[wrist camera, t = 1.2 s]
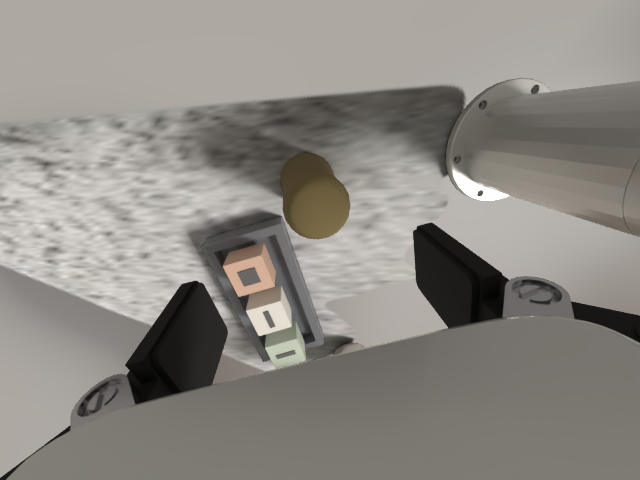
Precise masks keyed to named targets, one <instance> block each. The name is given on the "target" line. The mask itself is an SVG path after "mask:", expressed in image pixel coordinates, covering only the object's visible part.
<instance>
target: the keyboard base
mask: <svg viewBox="0 0 640 480" xmlns="http://www.w3.org/2000/svg"><path fill="white" fill-rule="evenodd" d="M263 242H264V244H265V246H266V249H267V251H268V254H269V256H270V259H271V261H272V263H273V266H274V268H275V271H276V276H275V287H276V286H280V285H282V288H283V290H284V293H285V295H286V298H287V300H288V303H289V305H290V308H291V317H292V322H294V321H296V322H297V325H298V327H299V330H300V332H301V334H302V337H303V339H304V342H305V350H306V349H309V348H313V347H316V346H320V345H323V344H324V338H323V332H322V329H321V326H320V323H319V320H318V317H317V315H316V312H315V309H314V306H313V303H312V300H311V298H310V295H309V292H308V289H307V286H306V283H305V280H304V278H303V275H302V272H301V269H300V266H299V263H298V261H297V258H296V255H295V252H294V249H293V246H292V244H291V241H290V238H289V235H288V232H287V229H286V227H285V224H284V221H283V218H282V216H280V217H277V218H273V219H270V220H266V221H263V222H259V223H256V224H253V225H249V226H246V227H242V228H239V229H235V230H232V231H228V232H225V233H222V234H218V235H215V236H211V237H208V238H207V239H206V241H205V242H204V243H203V245H202V246H201V248H202V250H203V252H204V254H205V255H206V257H207V259H208V261H209V263H210V265H211V267H212V268H213V270H214V272H215V274H216V276H217V278H218V279H219V281H220V283H221V285H222V287H223V289H224V290H225V292H226V294H227V296H228V298H229V300H230V302H231V303H232V305H233V307H234V309H235V311H236V313H237V314H238V316H239V318H240V320H241V322H242V324H243V326H244V327H245V329H246V331H247V333H248V335H249V337H250V338H251V340H252V342H253V344H254V346H255V348H256V349H257V351H258V353H259V355H260V357H261V359H262V361H263V362H264V361H268V360H271V359H270V357H269V355H268V353H267V351H266V349H265V341H266V334H265V335H262V336H258V334H257V332H256V330H255V328H254V326H253V324H252V322H251V320H250V318H249V316H248V314H247V313H246V308H247V303H248V299H249V294H248V295H244V296H241V297H238V295H237V293H236V291H235V289H234V287H233V286H232V284H231V282H230V280H229V278H228V276H227V274H226V272H225V270H224V268H223V264H224V262H225V260H226V258H227V256H228V253H229V252H232V251H235V250H239V249H242V248H246V247H249V246H253V245H256V244H260V243H263ZM272 288H273V287H272ZM268 289H269V288H268ZM265 290H266V289H265ZM258 292H259V291H258ZM251 294H252V293H251Z"/></svg>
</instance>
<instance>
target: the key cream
mask: <svg viewBox="0 0 640 480" xmlns="http://www.w3.org/2000/svg"><path fill="white" fill-rule="evenodd" d="M246 313H247V314H248V316H249V318H250V320H251V322H252V324H253V326H254V328H255V330H256V332H257V334H258V336H262V335H265V334H269V333H272V332H276V331H279V330H283V329H286V328H289V327H292V317H291V308H290V305H289V303H288V300H287V298H286V295H285V293H284V290H283V288H282V285H280V286H276V287H273V288H269V289H266V290H262V291H259V292H255V293H252V294H249V299H248V303H247V308H246Z"/></svg>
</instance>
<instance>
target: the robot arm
mask: <svg viewBox="0 0 640 480" xmlns="http://www.w3.org/2000/svg"><path fill="white" fill-rule="evenodd" d="M446 167H447V172H448V175H449V177H450V180H451V182H452V183H453V185H454V186H455V188H456V189H457V190H459V191H460V192H461V193H462V194H464V195H466V196H468V197H471V198H473V199H476V200H482V201H491V200H498V199H501V198H505V197H507V196H513V197H516V198H519V199H522V200H525V201H528V202H531V203H534V204H538V205H540V206H543V207H547V208H550V209H553V210H556V211H559V212H562V213H565V214H568V215H572V216H575V217H578V218H581V219H584V220H587V221H590V222H593V223H596V224H599V225H603V226H605V227H609V228H612V229H615V230H618V231H621V232H624V233H627V234H631V235H634V236H637V237H640V81H635V82H627V83H619V84H611V85H602V86H594V87H586V88H578V89H570V90H562V91H554V92H552V91H551V89H550V88H549V87H547V86H546V85H545V84H543V83H542V82H540V81H537V80H534V79H529V78H518V79H512V80H507V81H504V82H500V83H497V84H496V85H493V86H491V87H489V88H487V89H486V90H485V91H483V92H482V93H480V94H479V95H478V96H477V97H475V98H474V99H473V101H471V102H470V103H469V104H468V105H467V106H466V108H465V109H464V111H463V112H462V113H461V115H460V116H459V117H458V119H457V121H456V123H455V125H454V127H453V129H452V131H451V134H450V137H449V140H448V144H447V150H446ZM413 239H414V253H415V270H416V282H417V286H418V288H419V289H420V291H421V292H422V293H423V295H424V296H425V297H426V299H427V300H428V301H429V303H430V304H431V305H432V307H433V308H434V309H435V311H436V312H437V313H438V315H439V316H440V317H441V319H442V320H443V321H444V323H445V324H446V325H447V327H448V329H443V330H439V331H435V332H430V333H426V334H422V335H418V336H413V337H409V338H405V339H400V340H396V341H392V342H387V343H383V344H379V345H375V346H371V347H366V348H362V349H358V350H353V351H349V352H345V353H341V354H337V355H332V356H328V357H324V358H320V359H316V360H312V361H307V362H303V363H299V364H295V365H291V366H287V367H283V368H279V369H274V370H270V371H266V372H262V373H258V374H254V375H250V376H246V377H242V378H238V379H234V380H230V381H226V382H222V383H218V384H214V385H212V383H213V379H214V376H215V373H216V370H217V367H218V364H219V361H220V357H221V354H222V351H223V348H224V345H225V342H226V338H227V335H228V331H227V327H226V325H225V323H224V321H223V320H222V318H221V316H220V314H219V312H218V310H217V308H216V306H215V305H214V303H213V301H212V299H211V297H210V295H209V293H208V291H207V290H206V288H205V286H204V284H203V283H199V282H198V281H192V282H188V283H184V284H182V285H181V286H180V287H179V289H178V290H177V292H176V293H175V294H174V296H173V297H172V299H171V300H170V302H169V303H168V304H167V306H166V307H165V309H164V310H163V312H162V313H161V314H160V316H159V317H158V319H157V320H156V322H155V323H154V324H153V326H152V327H151V329H150V330H149V332H148V333H147V334H146V336H145V337H144V339H143V340H142V342H141V343H140V344H139V346H138V347H137V349H136V350H135V352H134V353H133V354H132V356H131V357H130V359H129V360H128V362H127V363H126V364H125V365H126V367H127V368H128V369H129V370H130V371H129V373H128V374H127V375H124V374H117V375H113V376H111V377H108V378H106V379H104V380H103V381H101V382H99V383H98V384H96V385H95V386H94V387H92V388H91V389H90V390H89V391H88V392H87V393H86V394H85V395H83V396H82V398H81V399H80V400H79V401H78V402H77V404H76V405H75V407H74V409H73V410H72V413H71V425H70V426H69V427H68V428H66V429H65V430H64V431H63V432H61V433H60V434H58V435H57V436H56V437H54V438H53V439H52V440H50V441H49V442H48V443H46V444H45V445H44V446H42V447H41V448H40V449H38V450H37V451H36V452H34V453H33V454H32V455H30V456H29V457H28V458H26V459H25V460H24V461H22V462H21V463H20V464H19V465H17V466H16V467H14V468H13V469H12V470H11V471H9V472H8V473H6V474H5V475H4V476H2V477H1V478H0V480H640V316H638V315H634V314H629V313H624V312H620V311H615V310H610V309H605V308H600V307H595V306H591V305H586V304H581V303H576V302H571V300H570V296H569V294H568V292H567V291H566V290H565V289H564V288H562V287H561V286H560V285H558V284H556V283H554V282H552V281H549V280H546V279H542V278H538V277H527V276H524V277H516V278H513V279H511V280H508V279H507V278H506V277H504V276H503V275H502V273H501V272H500V271H498V270H497V269H495V268H494V267H493V266H491V265H490V264H488V263H487V262H486V261H484V260H483V259H482V258H480V257H479V256H477V255H476V254H475V253H473V252H472V251H470V250H469V249H468V248H466V247H465V246H464V245H462V244H461V243H459V242H458V241H457V240H455V239H454V238H453V237H451V236H450V235H448V234H447V233H445V232H444V231H443V230H441V229H440V228H439V227H437V226H436V225H435V224H433V223H428V224H424V225H420V226H417V230H414V231H413Z"/></svg>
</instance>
